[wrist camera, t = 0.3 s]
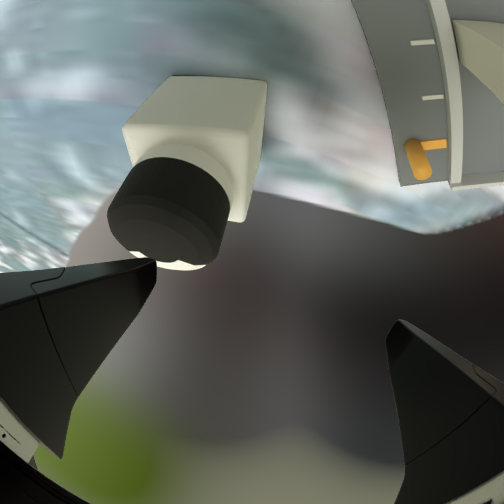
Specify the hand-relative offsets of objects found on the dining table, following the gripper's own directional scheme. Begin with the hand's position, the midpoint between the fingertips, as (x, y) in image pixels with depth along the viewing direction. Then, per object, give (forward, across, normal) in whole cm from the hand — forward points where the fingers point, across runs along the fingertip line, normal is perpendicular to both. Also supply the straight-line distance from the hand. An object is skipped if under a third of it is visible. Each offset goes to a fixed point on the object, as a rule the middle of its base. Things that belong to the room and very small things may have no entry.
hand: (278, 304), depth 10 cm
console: (+8, +7, +15) cm, 19 cm away
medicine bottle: (+14, -7, +5) cm, 16 cm away
